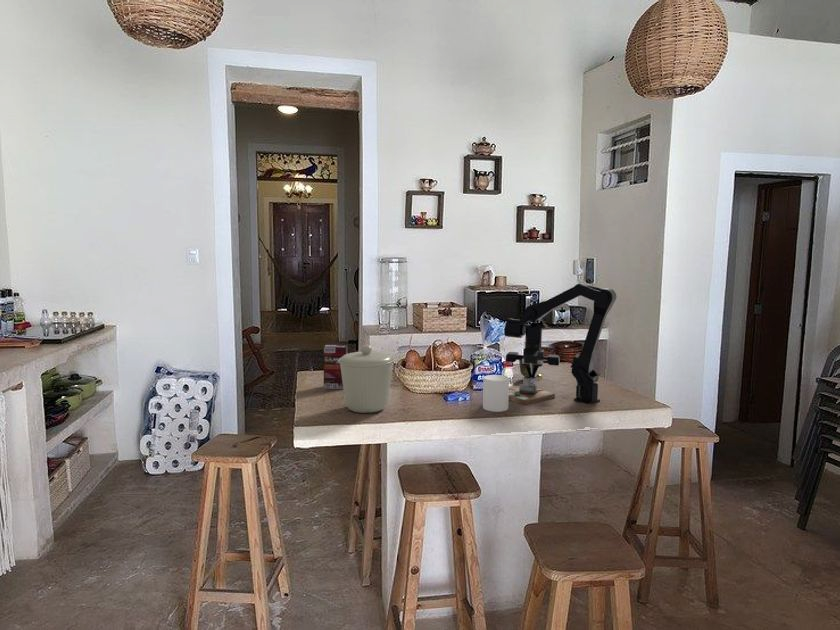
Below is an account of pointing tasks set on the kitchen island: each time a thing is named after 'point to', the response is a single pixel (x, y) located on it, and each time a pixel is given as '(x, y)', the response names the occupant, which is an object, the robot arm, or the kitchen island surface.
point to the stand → (529, 396)
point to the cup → (524, 370)
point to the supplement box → (333, 366)
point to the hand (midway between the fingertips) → (531, 381)
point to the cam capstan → (530, 385)
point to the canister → (366, 379)
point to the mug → (495, 393)
